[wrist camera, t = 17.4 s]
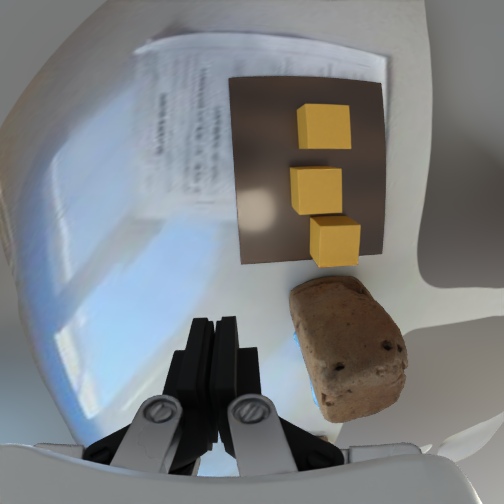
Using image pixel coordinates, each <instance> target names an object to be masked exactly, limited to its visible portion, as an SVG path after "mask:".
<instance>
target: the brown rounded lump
mask: <svg viewBox="0 0 504 504" xmlns="http://www.w3.org/2000/svg"><path fill="white" fill-rule="evenodd" d="M289 302H290V311H291V316H292V320H293V324H294V327H295V330H296V334H297V338H298V341H299V345H300V348H301V351H302V354H303V358H304V361H305V364H306V368H307V371H308V374H309V377H310V380H311V383H312V387H313V390H314V393H315V396H316V399H317V402H318V405H319V408H320V410H321V412H322V414H323V416H324V418H325V419H326V420H327V421H329V422H331V423H343V422H347V421H350V420H353V419H356V418H361V417H366V416H370V415H373V414H376V413H378V412H380V411H382V410H383V409H385V408H387V407H389V406H391V405H392V404H394V403H395V402H396V401H397V400H398V398H399V396H400V393H401V391H402V389H403V388H404V384H405V380H406V376H405V374H404V370H403V369H405V368H407V367H408V360H407V350H406V346H405V342H404V340H403V337H402V335H401V332H400V329H399V328H398V326H397V325H396V323H394V321H393V320H392V318H391V317H390V315H389V314H388V313H387V312H386V311H385V310H384V308H383V307H382V306H381V305H379V303H378V302H377V301H375V300H374V299H373V297H372V296H371V294H370V292H369V291H368V290H367V289H366V287H364V285H363V284H362V283H361V282H360V281H359V280H358V279H357V278H355V277H353V276H347V277H346V276H331V277H325V278H320V279H315V280H312V281H309V282H306V283H304V284H302V285H299V286H297V287H295V288H294V289H293V290H292V291H291V292H290V297H289Z"/></svg>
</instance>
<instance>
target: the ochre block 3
mask: <svg viewBox="0 0 504 504" xmlns="http://www.w3.org/2000/svg"><path fill="white" fill-rule="evenodd" d="M360 227H361V225H360V224H358V223H357V222H355V221H354V220H352V219H351V218H349V217H347V216H323V217H310V255H311V256H312V258H313V259H314V261H315V262H316V264H317V265H318V267H319V268H322V267H336V266H351V265H358V257H359V243H360Z"/></svg>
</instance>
